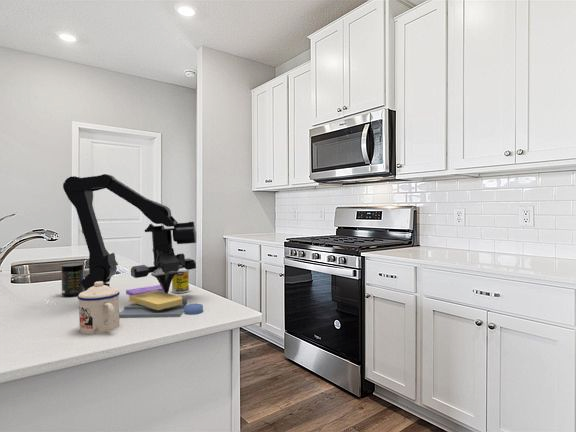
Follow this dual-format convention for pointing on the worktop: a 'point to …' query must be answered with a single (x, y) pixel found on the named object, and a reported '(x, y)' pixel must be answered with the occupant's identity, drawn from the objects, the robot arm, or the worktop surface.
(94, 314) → the teacup with lid
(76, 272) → the supplement container
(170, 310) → the grey flanged channel
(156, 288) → the sponges
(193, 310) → the blue rounded dome
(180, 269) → the supplement bottle
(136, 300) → the cover
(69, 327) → the worktop surface
